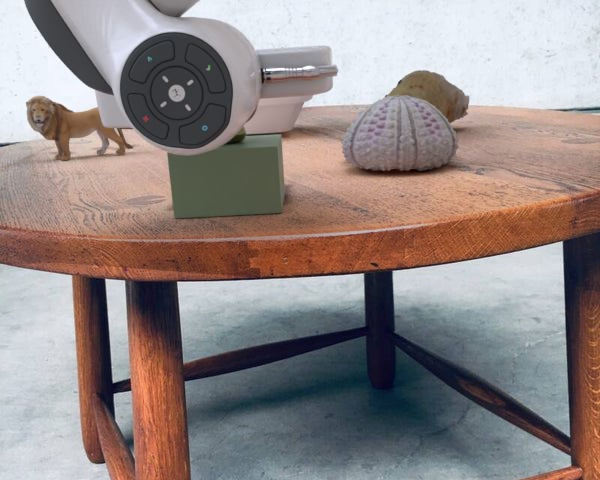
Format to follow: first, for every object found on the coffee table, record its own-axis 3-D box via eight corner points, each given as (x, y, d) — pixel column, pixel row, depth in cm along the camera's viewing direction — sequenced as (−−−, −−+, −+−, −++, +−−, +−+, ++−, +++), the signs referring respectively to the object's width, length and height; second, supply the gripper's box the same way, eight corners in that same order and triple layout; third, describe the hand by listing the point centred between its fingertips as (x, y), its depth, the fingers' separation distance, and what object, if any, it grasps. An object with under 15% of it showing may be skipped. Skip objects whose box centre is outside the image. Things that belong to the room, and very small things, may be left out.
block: (174, 218, 83) (166, 152, 81) (188, 199, 93) (182, 139, 90) (281, 213, 83) (277, 146, 81) (285, 194, 92) (281, 134, 90)
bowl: (186, 146, 137) (180, 87, 134) (204, 131, 156) (199, 79, 153) (321, 139, 136) (318, 79, 133) (323, 125, 155) (321, 72, 152)
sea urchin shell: (358, 160, 113) (355, 92, 110) (466, 158, 108) (467, 88, 105) (328, 177, 101) (325, 102, 98) (449, 176, 97) (449, 98, 94)
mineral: (407, 82, 114) (337, 97, 119) (421, 154, 117) (352, 166, 122) (466, 56, 135) (404, 69, 140) (475, 118, 139) (414, 129, 143)
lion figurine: (38, 164, 126) (27, 97, 123) (30, 161, 131) (19, 96, 127) (138, 153, 132) (130, 89, 129) (128, 150, 137) (120, 88, 133)
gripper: (337, 27, 68) (333, 27, 81) (70, 44, 69) (108, 41, 82) (340, 114, 71) (336, 101, 83) (83, 129, 71) (118, 114, 84)
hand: (222, 71), depth 83 cm, fingers open, 8 cm apart
